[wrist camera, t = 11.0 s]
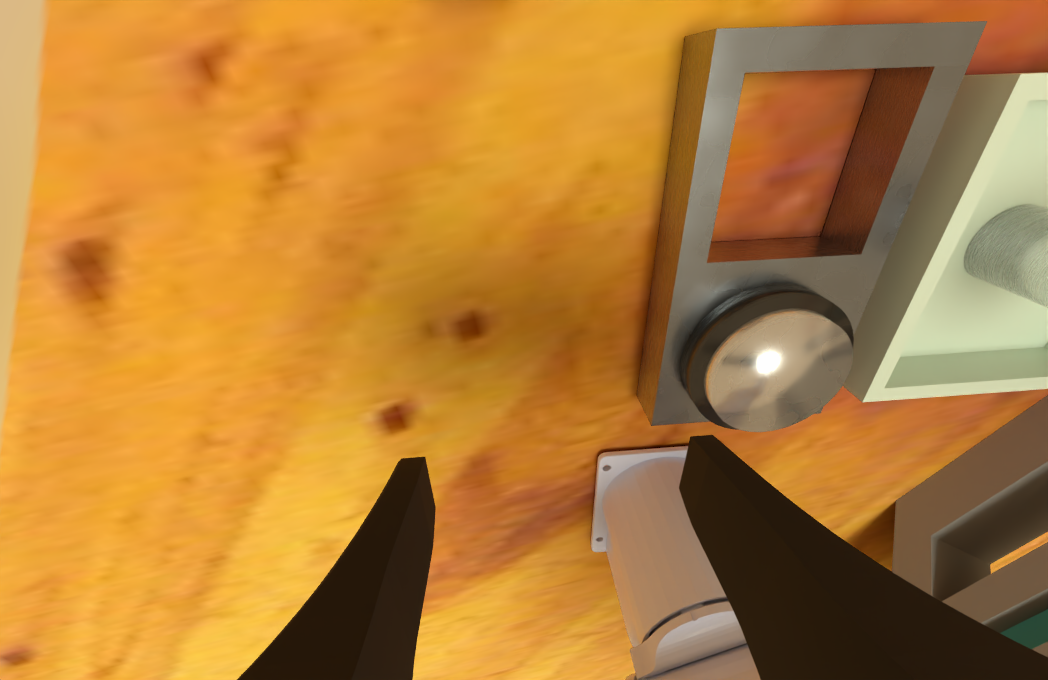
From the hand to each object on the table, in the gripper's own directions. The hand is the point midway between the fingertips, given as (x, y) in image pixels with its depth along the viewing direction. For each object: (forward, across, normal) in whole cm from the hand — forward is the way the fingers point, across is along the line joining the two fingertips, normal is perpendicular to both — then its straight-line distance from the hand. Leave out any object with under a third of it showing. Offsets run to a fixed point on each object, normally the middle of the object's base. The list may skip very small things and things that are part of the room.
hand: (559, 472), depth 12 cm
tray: (+10, -23, -2) cm, 25 cm away
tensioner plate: (+10, -10, -2) cm, 15 cm away
